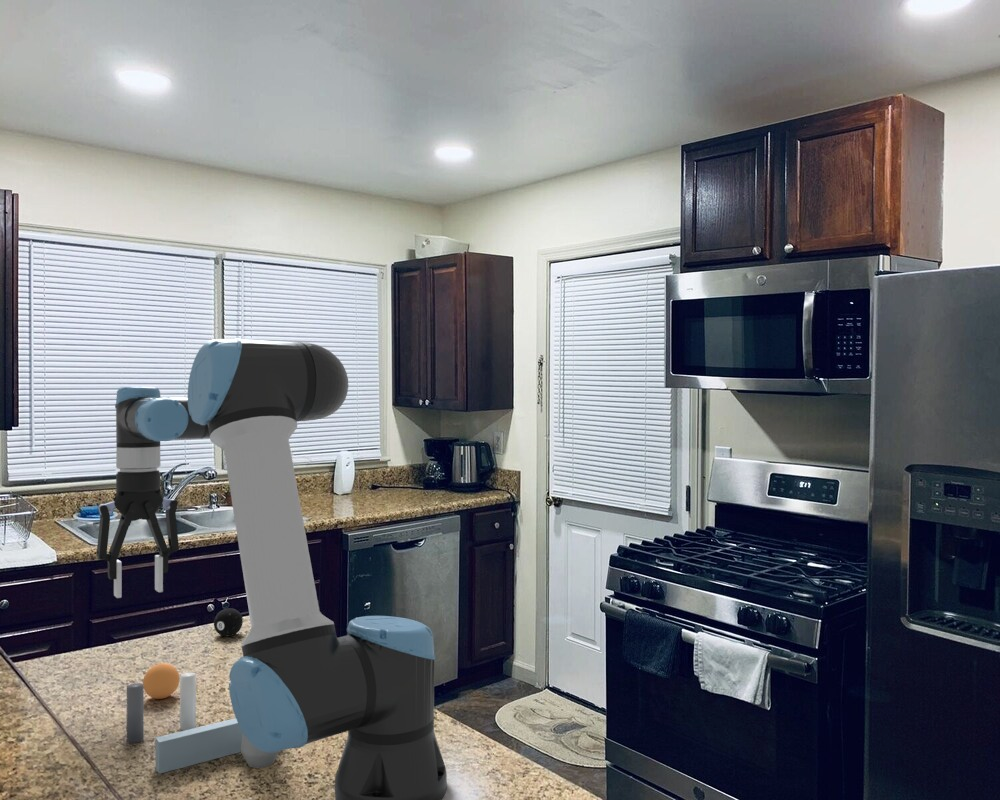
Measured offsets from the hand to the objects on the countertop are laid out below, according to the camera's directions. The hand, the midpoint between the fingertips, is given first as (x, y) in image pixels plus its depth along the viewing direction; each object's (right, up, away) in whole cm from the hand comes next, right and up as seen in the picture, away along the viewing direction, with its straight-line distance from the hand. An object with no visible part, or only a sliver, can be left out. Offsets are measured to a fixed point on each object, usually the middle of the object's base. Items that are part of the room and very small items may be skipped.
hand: (138, 593), depth 149 cm
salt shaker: (+32, -17, -31) cm, 48 cm away
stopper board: (+25, -17, -29) cm, 42 cm away
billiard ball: (+6, -17, +31) cm, 36 cm away
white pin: (+17, -17, -19) cm, 31 cm away
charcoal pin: (+10, -17, -24) cm, 31 cm away
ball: (+7, -14, -7) cm, 17 cm away
